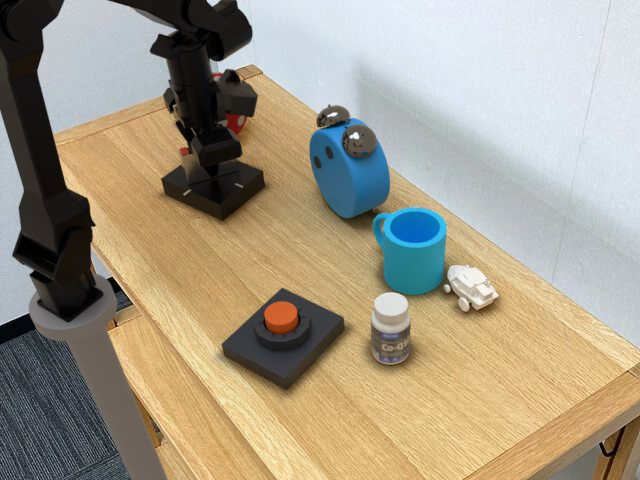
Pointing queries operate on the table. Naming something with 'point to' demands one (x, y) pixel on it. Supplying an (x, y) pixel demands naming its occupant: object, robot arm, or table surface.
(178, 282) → the table surface
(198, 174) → the tap handle
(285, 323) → the button
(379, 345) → the pill bottle
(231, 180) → the base
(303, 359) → the button box
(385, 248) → the mug
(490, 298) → the toy car
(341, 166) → the alarm clock
